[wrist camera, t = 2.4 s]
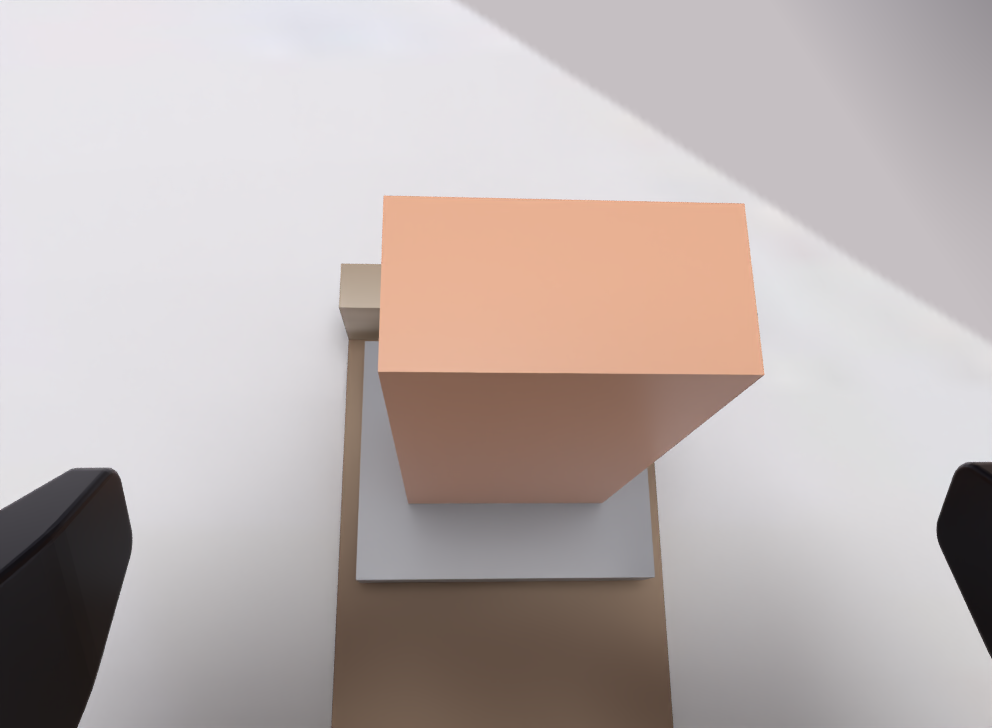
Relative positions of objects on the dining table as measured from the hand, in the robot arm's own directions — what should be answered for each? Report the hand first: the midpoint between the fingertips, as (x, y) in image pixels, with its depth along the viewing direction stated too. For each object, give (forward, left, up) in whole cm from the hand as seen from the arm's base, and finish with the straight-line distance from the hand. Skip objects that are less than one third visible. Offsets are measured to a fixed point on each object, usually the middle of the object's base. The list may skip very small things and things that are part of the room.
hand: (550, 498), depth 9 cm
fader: (+2, 0, -9) cm, 9 cm away
